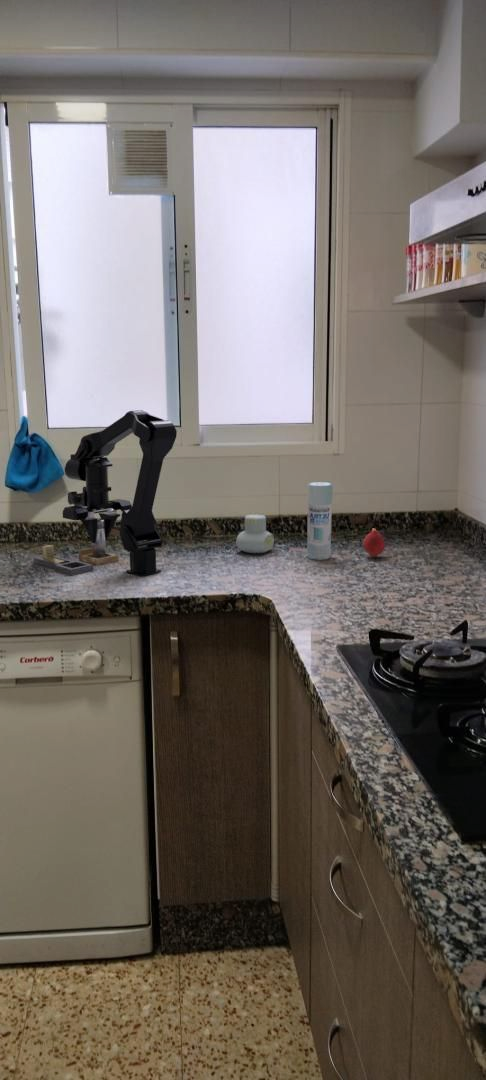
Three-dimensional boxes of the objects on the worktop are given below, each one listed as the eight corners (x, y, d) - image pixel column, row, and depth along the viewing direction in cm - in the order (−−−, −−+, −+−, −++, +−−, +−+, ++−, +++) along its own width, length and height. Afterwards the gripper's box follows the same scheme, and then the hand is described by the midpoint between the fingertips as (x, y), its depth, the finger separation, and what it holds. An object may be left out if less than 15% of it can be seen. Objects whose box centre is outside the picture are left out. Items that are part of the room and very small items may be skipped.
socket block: (93, 570, 222) (93, 564, 222) (71, 575, 217) (70, 569, 217) (52, 559, 234) (52, 553, 234) (30, 563, 229) (30, 558, 229)
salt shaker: (108, 556, 232) (107, 519, 230) (98, 558, 230) (96, 521, 228) (100, 554, 235) (99, 517, 233) (90, 556, 232) (88, 519, 230)
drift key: (65, 565, 226) (65, 548, 225) (58, 566, 225) (57, 550, 224) (51, 561, 231) (50, 544, 230) (43, 562, 229) (42, 546, 228)
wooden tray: (118, 560, 233) (118, 550, 232) (97, 565, 228) (96, 554, 227) (100, 556, 238) (99, 546, 237) (78, 560, 233) (78, 550, 232)
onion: (383, 555, 240) (385, 526, 238) (385, 560, 234) (386, 530, 232) (362, 554, 240) (363, 526, 238) (363, 559, 234) (364, 530, 233)
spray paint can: (330, 554, 240) (332, 482, 236) (330, 560, 234) (332, 485, 230) (307, 554, 241) (308, 481, 237) (306, 559, 234) (307, 485, 230)
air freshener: (260, 557, 237) (260, 520, 235) (233, 554, 241) (233, 518, 239) (276, 549, 247) (276, 514, 245) (250, 546, 250) (250, 511, 248)
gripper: (106, 476, 240) (108, 532, 243) (48, 483, 227) (51, 542, 230) (132, 480, 233) (134, 538, 236) (74, 488, 219) (76, 549, 223)
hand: (99, 541), depth 231 cm, fingers closed on salt shaker, 3 cm apart
